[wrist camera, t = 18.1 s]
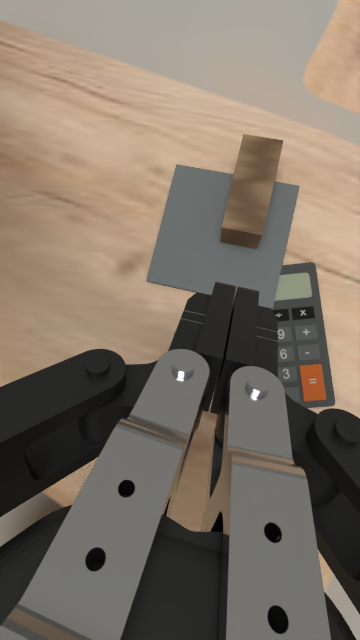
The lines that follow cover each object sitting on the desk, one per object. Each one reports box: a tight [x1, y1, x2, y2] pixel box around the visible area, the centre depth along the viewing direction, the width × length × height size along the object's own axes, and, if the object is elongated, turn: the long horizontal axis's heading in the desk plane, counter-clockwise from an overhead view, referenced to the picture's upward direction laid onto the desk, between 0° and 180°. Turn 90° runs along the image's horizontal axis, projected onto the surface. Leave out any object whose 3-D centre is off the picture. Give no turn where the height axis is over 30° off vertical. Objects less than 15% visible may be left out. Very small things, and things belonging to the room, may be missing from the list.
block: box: [220, 134, 283, 249], centre depth 34 cm, size 4×4×10 cm
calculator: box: [208, 262, 335, 408], centre depth 34 cm, size 12×1×15 cm
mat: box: [146, 164, 299, 309], centre depth 36 cm, size 14×14×1 cm
